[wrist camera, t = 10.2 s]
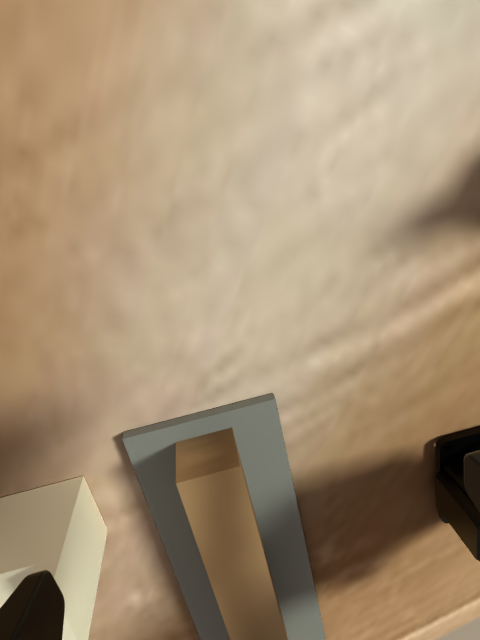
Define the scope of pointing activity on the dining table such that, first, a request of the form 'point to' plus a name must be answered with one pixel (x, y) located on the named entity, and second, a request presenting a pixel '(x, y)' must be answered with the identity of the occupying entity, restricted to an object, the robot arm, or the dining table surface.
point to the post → (55, 546)
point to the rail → (228, 535)
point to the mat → (268, 502)
